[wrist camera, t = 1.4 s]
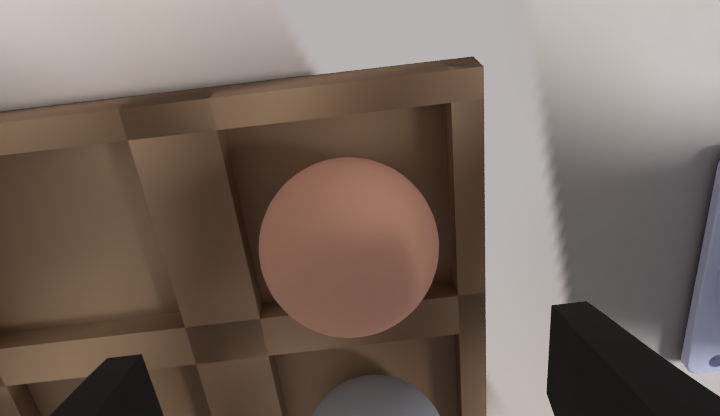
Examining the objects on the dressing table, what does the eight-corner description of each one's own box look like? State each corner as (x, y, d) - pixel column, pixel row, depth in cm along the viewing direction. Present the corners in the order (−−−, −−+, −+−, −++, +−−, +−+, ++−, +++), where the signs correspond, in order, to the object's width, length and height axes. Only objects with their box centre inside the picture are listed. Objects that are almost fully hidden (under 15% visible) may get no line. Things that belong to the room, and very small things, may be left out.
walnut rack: (473, 56, 15) (483, 66, 14) (479, 452, 21) (486, 478, 20) (-123, 126, 15) (-154, 141, 14) (67, 499, 21) (54, 527, 20)
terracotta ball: (420, 122, 15) (452, 194, 11) (428, 263, 17) (458, 366, 13) (254, 142, 15) (228, 220, 11) (281, 280, 17) (267, 388, 13)
